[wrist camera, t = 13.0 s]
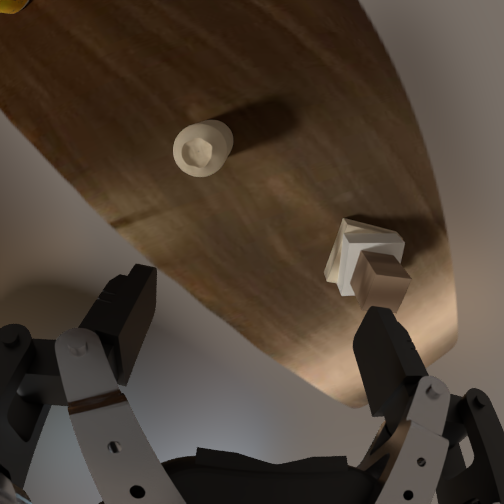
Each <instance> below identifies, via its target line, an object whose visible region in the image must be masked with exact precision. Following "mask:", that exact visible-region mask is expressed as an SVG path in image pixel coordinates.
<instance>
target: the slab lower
mask: <svg viewBox="0 0 504 504" xmlns="http://www.w3.org/2000/svg"><path fill="white" fill-rule="evenodd" d="M343 233H397V232H396V231H392V230H389V229H385V228H381V227H377V226H373V225H370V224H366V223H362V222H358V221H354V220H350V219H346V218H343V220H342V223H341V226H340V229H339V231H338V234H337V237H336V240H335V243H334V246H333V249H332V252H331V254H330V257H329V260H328V263H327V265H326V268H325V271H324V274H325V277H326V280H327V281H328V282H333V283H337V280H338V273H339V266H340V258H341V250H342V241H343ZM397 235H398V236H399V237H400V238H401V239H402V240H403V238H402V237H401V236H400V235H399V234H398V233H397Z"/></svg>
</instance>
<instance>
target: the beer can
mask: <svg viewBox="0 0 504 504" xmlns="http://www.w3.org/2000/svg"><path fill="white" fill-rule="evenodd" d="M28 2H29V0H0V12H2V13H9V14H14V13H16V12H18V11H20V10H21V9H23V8H24V7H25V6H26V4H27V3H28Z"/></svg>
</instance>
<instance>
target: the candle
mask: <svg viewBox="0 0 504 504" xmlns="http://www.w3.org/2000/svg"><path fill="white" fill-rule="evenodd" d="M232 147H233V134H232V132H231V130H230V129H229V127H228V126H227V125H226V124H224V123H223V122H221V121H218V120H206V121H202V122H199V123H196V124H193V125H190V126H188V127H186V128H185V129H183V130H182V131H181V132H180V133H179V135H178V136H177V138H176V140H175V142H174V146H173V154H174V159H175V161H176V163H177V165H178V166H179V167H180V169H182V170H183V171H184V172H185V173H187V174H189V175H191V176H195V177H205V176H209V175H212V174H213V173H215V172H217V171H218V170H219V169H220V168H221V167H222V165H223V164H224V162H225V160H226V159H227V157H228V155H229V153H230V152H231V150H232Z"/></svg>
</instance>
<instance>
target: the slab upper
mask: <svg viewBox="0 0 504 504" xmlns="http://www.w3.org/2000/svg"><path fill="white" fill-rule="evenodd" d="M404 245H405V242H404V241H403V240H402V239H401V238H400V237H399V236H398V235H397V233H343V241H342V250H341V258H340V266H339V273H338V280H337V285H338V288H339V290H340V293H341V296H349V295H355V294H354V291H353V289H352V287H351V285H350V281H351V278H352V275H353V272H354V269H355V266H356V263H357V260H358V257H359V254H360V251H361V250H363V251H370V252H376V253H382V254H389V255H394V256H395V258H396V259H397V260H398V261H399V263H400V264H401V259H402V255H403V250H404Z"/></svg>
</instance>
